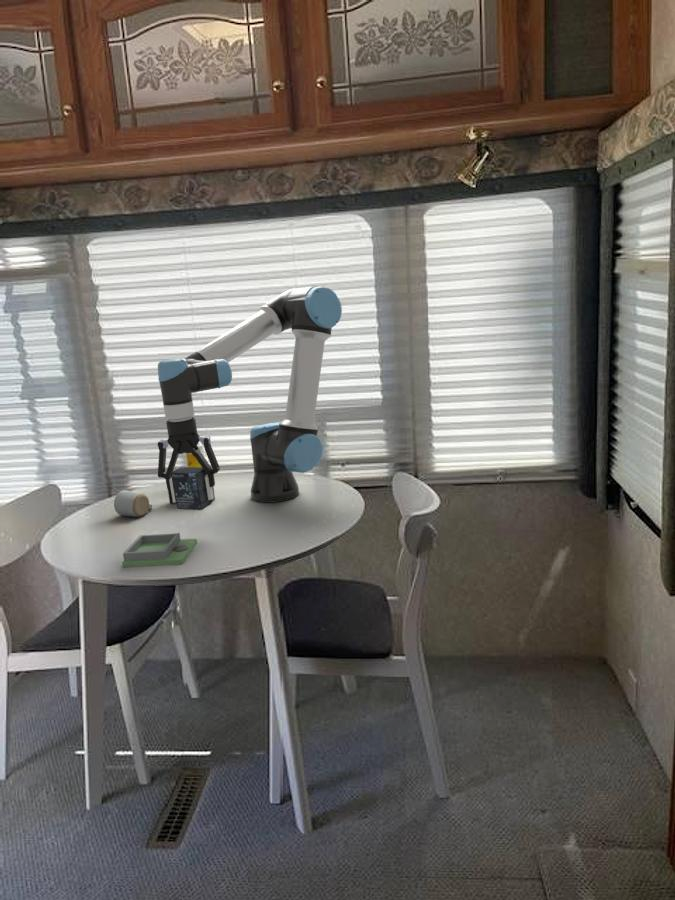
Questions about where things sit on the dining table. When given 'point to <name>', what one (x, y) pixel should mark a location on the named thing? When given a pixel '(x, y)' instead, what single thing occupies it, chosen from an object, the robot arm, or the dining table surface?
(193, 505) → the box
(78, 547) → the dining table surface
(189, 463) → the white and yellow cylinder
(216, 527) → the dining table surface
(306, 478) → the dining table surface
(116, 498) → the ceramic mug
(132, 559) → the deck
